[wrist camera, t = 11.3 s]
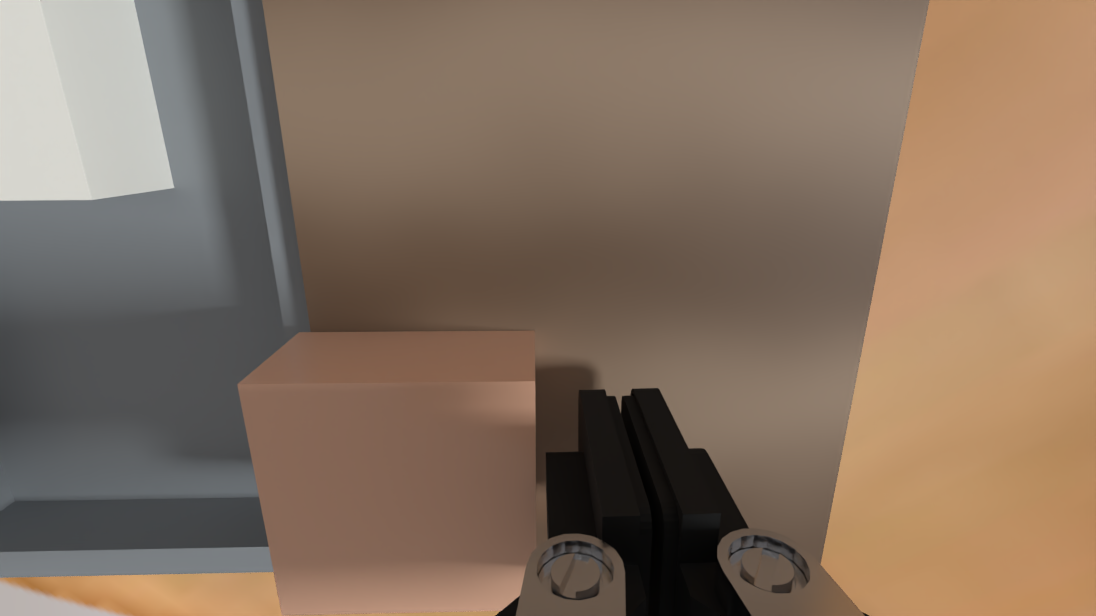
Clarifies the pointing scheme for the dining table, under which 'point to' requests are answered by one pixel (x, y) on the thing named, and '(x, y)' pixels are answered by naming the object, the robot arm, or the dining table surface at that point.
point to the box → (152, 326)
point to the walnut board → (614, 203)
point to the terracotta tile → (396, 469)
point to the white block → (76, 103)
